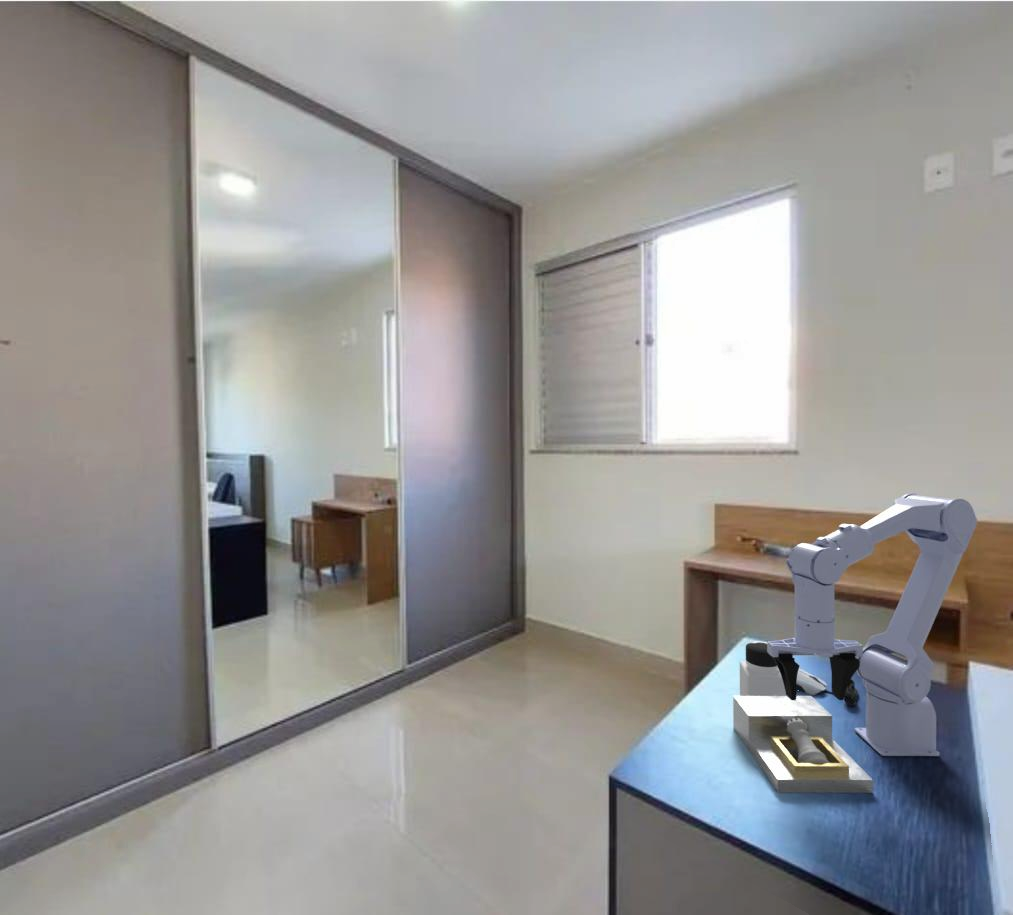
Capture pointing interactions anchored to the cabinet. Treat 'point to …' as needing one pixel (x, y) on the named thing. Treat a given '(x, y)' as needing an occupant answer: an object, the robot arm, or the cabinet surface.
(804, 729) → the rook chess piece
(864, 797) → the cabinet surface
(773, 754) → the white stepped block
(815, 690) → the computer mouse
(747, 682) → the medicine bottle
